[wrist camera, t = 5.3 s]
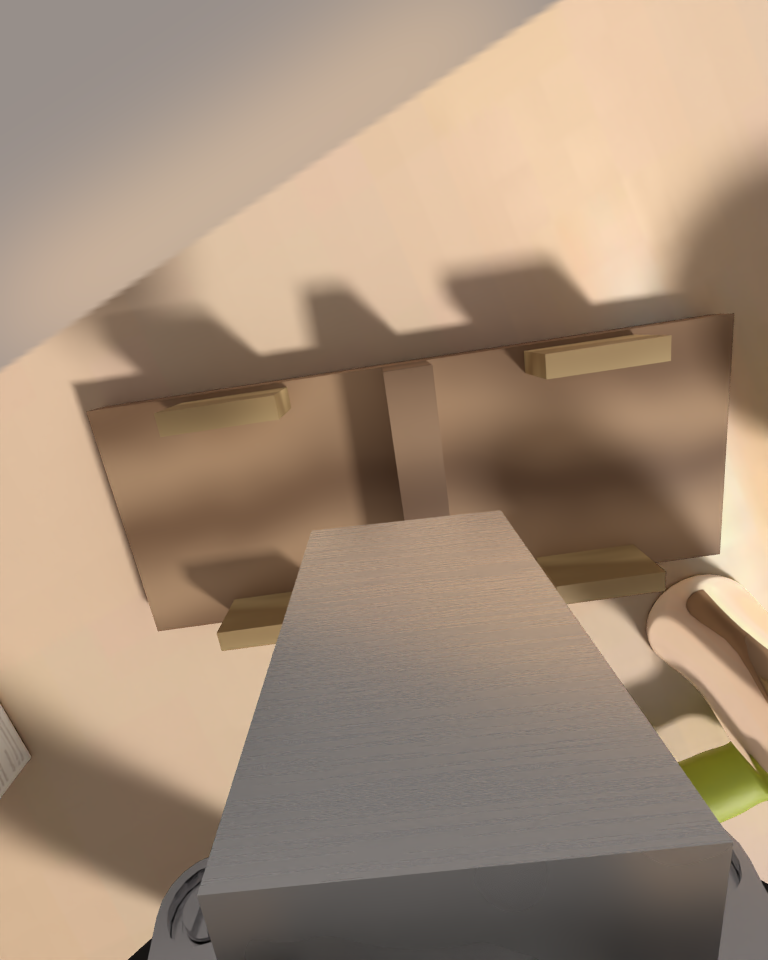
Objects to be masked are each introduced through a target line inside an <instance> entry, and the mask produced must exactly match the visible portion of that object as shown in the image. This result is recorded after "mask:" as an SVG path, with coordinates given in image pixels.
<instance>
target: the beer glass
mask: <svg viewBox="0 0 768 960" xmlns="http://www.w3.org/2000/svg"><path fill="white" fill-rule="evenodd" d="M646 632H647V638H648V641H649V643H650V645H651V647H652V649H653V650H654V652H655V653H656V654H657V655H658V656H659V657H660V658H661V659H662V660H663V661H665V662H666V663H667V664H668V665H670V666H671V667H672V668H674V669H675V670H676V671H678V672H679V673H680V674H681V675H683V676H684V677H685V678H686V679H688V680H689V681H690V682H691V683H692V684H693V685H694V686H695V687H696V688H697V690H698V691H699V692H700V693H701V695H702V696H703V697H704V698H705V700H706V701H707V703H708V704H709V706H710V707H711V709H712V711H713V712H714V714H715V715H716V717H717V719H718V720H719V722H720V724H721V725H722V727H723V729H724V730H725V732H726V734H727V735H728V737H729V739H730V740H731V742H732V744H733V745H734V747H735V749H736V750H737V752H738V754H739V755H740V757H741V759H742V760H743V762H744V763H745V765H746V767H747V768H748V770H749V771H750V773H751V774H752V776H753V777H754V779H755V780H756V782H757V783H758V785H759V786H760V788H761V789H762V791H763V792H764V794H765V795H766V796H767V798H768V612H767V611H766V610H765V609H764V608H763V607H762V606H761V605H760V604H759V602H758V601H757V600H756V599H755V598H754V597H753V596H752V595H751V594H750V593H749V592H748V591H747V590H746V589H745V588H744V587H743V586H742V585H741V584H739V583H738V582H736V581H734V580H732V579H730V578H727V577H724V576H721V575H714V574H705V575H697V576H693V577H689V578H686V579H684V580H682V581H680V582H678V583H676V584H674V585H673V586H671V587H670V588H668V589H667V590H666V591H665V592H664V593H663V594H662V595H661V596H660V597H659V598H658V599H657V601H656V602H655V603H654V605H653V607H652V608H651V611H650V613H649V616H648V619H647V625H646Z"/></svg>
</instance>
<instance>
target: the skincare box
mask: <svg viewBox="0 0 768 960" xmlns="http://www.w3.org/2000/svg"><path fill="white" fill-rule="evenodd" d="M30 759H31V755H30V754H29V752H28V750H27V748H26V747H25V745H24V743H23V742H22V740H21V738H20V737H19V735H18V733H17V732H16V730H15V728H14V726H13V725H12V723H11V721H10V719H9V718H8V716H7V714H6V713H5V711H4V709H3V707H2V706H1V704H0V799H1V797H2V796H3V795H4V793H5V792H6V790H7V789H8V788H9V786H10V785H11V784H12V782H13V781H14V780H15V778H16V777H17V776H18V774H19V773H20V772H21V770H22V769H23V768H24V766H25V765H26V764H27V762H28V761H29V760H30Z"/></svg>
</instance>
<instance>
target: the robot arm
mask: <svg viewBox="0 0 768 960" xmlns="http://www.w3.org/2000/svg"><path fill="white" fill-rule="evenodd" d="M724 830H725V829H724ZM725 831H726V830H725ZM726 832H727V831H726ZM727 834H728V835H729V837H730V838H731V840H732V841H733V849H732V857H731V864H730V872H729V880H728V887H727V895H726V902H725V910H724V918H723V925H722V933H721V940H720V948H719V956H718V960H768V884H767V883H765V882H763V881H762V880H760V878H759V876H758V874H757V872H756V870H755V868H754V866H753V864H752V862H751V860H750V859H749V857H748V856H747V854H746V853H745V851H744V850H743V848H742V847H741V845H740V844H739V843H738V842H737V841H736V840H735V839H734V838H733V837H732V836H731V835H730V834H729V833H728V832H727ZM208 859H209V857H208V858H206V859H204V860H201V861H199V862H197V863H196V864H195V865H193V866H192V867H190V868H189V869H188V870H186V871H185V872H184V873H183V874H182V875H181V876H180V877H179V878H178V879H177V880H176V881H175V882H174V883H173V884H172V886H171V888H170V889H169V891H168V892H167V894H166V896H165V897H164V899H163V900H162V903H161V906H160V909H159V912H158V915H157V918H156V923H155V928H154V932H153V937H152V939H150V940H149V941H148V942H147V943H146V944H145V945H144V946H143V947H141V948H140V949H139V950H138V951H137V952H136V953H135V954H134V955H133V956H131V957H130V958H129V959H128V960H217V958H216V955H215V952H214V948H213V945H212V942H211V939H210V936H209V933H208V929H207V926H206V923H205V920H204V917H203V913H202V910H201V907H200V904H199V901H198V897H197V894H198V891H199V887H200V884H201V881H202V878H203V875H204V872H205V868H206V865H207V862H208Z"/></svg>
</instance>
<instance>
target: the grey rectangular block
mask: <svg viewBox="0 0 768 960" xmlns="http://www.w3.org/2000/svg"><path fill="white" fill-rule="evenodd" d="M732 849H733V841H732V840H731V838H730V837H729V835H728V834H727V832H726V831H725V830H724V828H723V827H722V825H721V824H720V822H719V821H718V820H717V818H716V817H715V815H714V814H713V812H712V811H711V810H710V808H709V807H708V805H707V804H706V802H705V801H704V800H703V798H702V797H701V795H700V794H699V792H698V791H697V790H696V788H695V787H694V785H693V784H692V782H691V781H690V780H689V778H688V777H687V775H686V774H685V772H684V771H683V770H682V768H681V767H680V765H679V764H678V762H677V761H676V760H675V758H674V757H673V755H672V754H671V753H670V751H669V750H668V748H667V747H666V745H665V744H664V743H663V741H662V740H661V738H660V737H659V735H658V734H657V733H656V731H655V730H654V728H653V727H652V725H651V724H650V723H649V721H648V720H647V718H646V717H645V715H644V714H643V713H642V711H641V710H640V708H639V707H638V705H637V704H636V703H635V701H634V700H633V698H632V697H631V695H630V694H629V693H628V691H627V690H626V688H625V687H624V685H623V684H622V683H621V681H620V680H619V678H618V677H617V675H616V674H615V673H614V671H613V670H612V668H611V667H610V665H609V664H608V663H607V661H606V660H605V658H604V657H603V656H602V654H601V653H600V651H599V650H598V648H597V647H596V646H595V644H594V643H593V641H592V640H591V638H590V637H589V636H588V634H587V633H586V631H585V630H584V628H583V627H582V626H581V624H580V623H579V621H578V620H577V618H576V617H575V616H574V614H573V613H572V611H571V610H570V608H569V607H568V606H567V604H566V603H565V601H564V600H563V598H562V597H561V596H560V594H559V593H558V591H557V590H556V588H555V587H554V586H553V584H552V583H551V581H550V580H549V578H548V577H547V576H546V574H545V573H544V571H543V570H542V568H541V567H540V566H539V564H538V563H537V561H536V560H535V558H534V557H533V556H532V554H531V553H530V551H529V550H528V549H527V547H526V546H525V544H524V543H523V541H522V540H521V539H520V537H519V536H518V534H517V533H516V531H515V530H514V529H513V527H512V526H511V524H510V523H509V521H508V520H507V519H506V517H505V516H504V514H503V513H502V511H501V510H497V511H487V512H478V513H469V514H460V515H451V516H442V517H433V518H424V519H415V520H406V521H397V522H388V523H379V524H369V525H360V526H351V527H342V528H333V529H324V530H315V531H311V534H310V537H309V541H308V544H307V547H306V550H305V553H304V557H303V560H302V563H301V566H300V569H299V572H298V576H297V579H296V582H295V585H294V588H293V592H292V595H291V598H290V601H289V604H288V607H287V611H286V614H285V617H284V620H283V623H282V627H281V630H280V633H279V636H278V639H277V642H276V646H275V649H274V652H273V655H272V658H271V662H270V665H269V668H268V671H267V674H266V677H265V681H264V684H263V687H262V690H261V693H260V697H259V700H258V703H257V706H256V709H255V712H254V716H253V719H252V722H251V725H250V728H249V732H248V735H247V738H246V741H245V744H244V747H243V751H242V754H241V757H240V760H239V763H238V767H237V770H236V773H235V776H234V779H233V782H232V786H231V789H230V792H229V795H228V798H227V802H226V805H225V808H224V811H223V814H222V817H221V821H220V824H219V827H218V830H217V833H216V837H215V840H214V843H213V846H212V849H211V852H210V856H209V859H208V862H207V865H206V868H205V872H204V875H203V878H202V881H201V884H200V887H199V891H198V894H197V897H198V901H199V904H200V907H201V910H202V913H203V917H204V920H205V923H206V926H207V929H208V933H209V936H210V939H211V942H212V945H213V948H214V952H215V955H216V958H217V960H718V956H719V948H720V940H721V933H722V925H723V918H724V910H725V902H726V895H727V887H728V880H729V872H730V864H731V857H732Z"/></svg>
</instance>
